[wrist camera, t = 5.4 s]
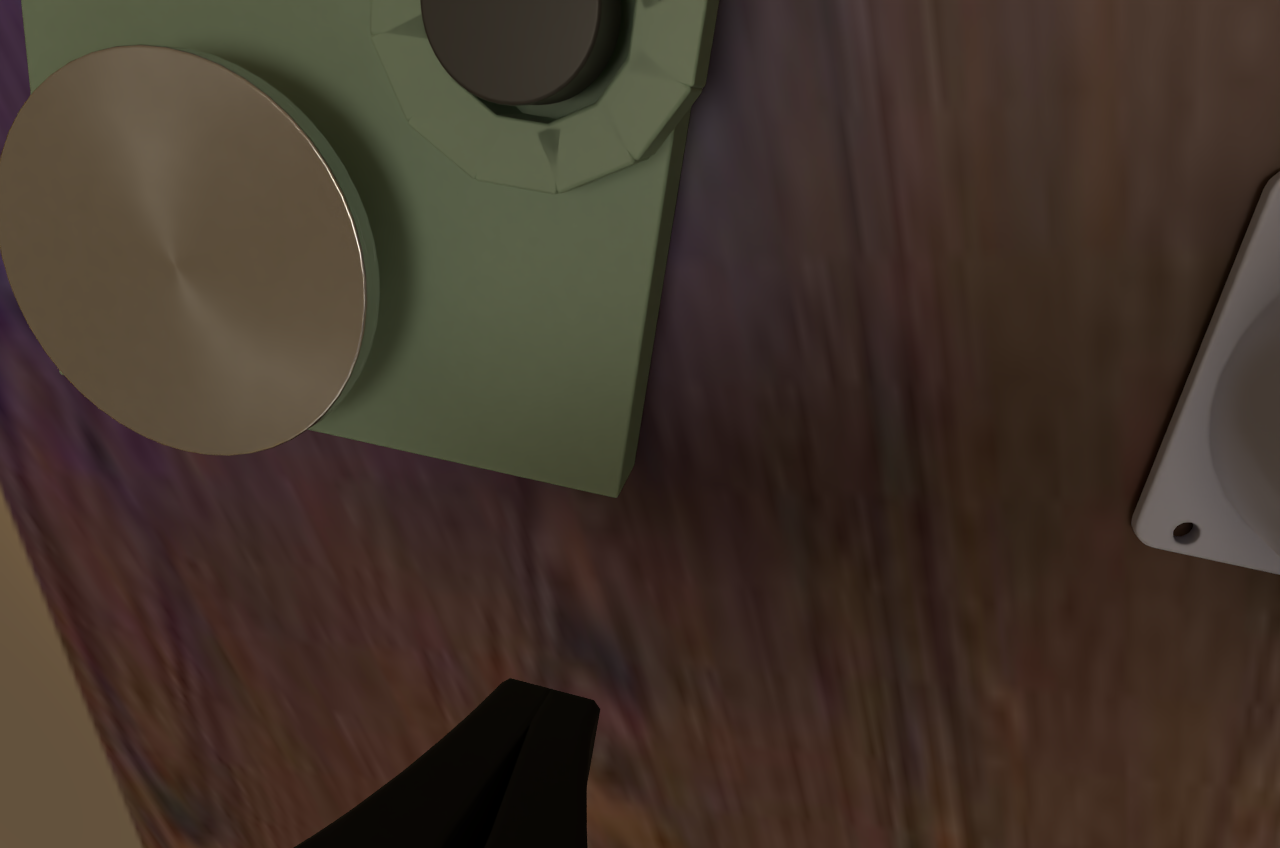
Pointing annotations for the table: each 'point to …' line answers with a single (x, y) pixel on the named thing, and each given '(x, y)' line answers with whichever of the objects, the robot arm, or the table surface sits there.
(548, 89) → the tare button
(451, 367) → the scale
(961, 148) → the table surface
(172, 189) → the brushed metal disc
